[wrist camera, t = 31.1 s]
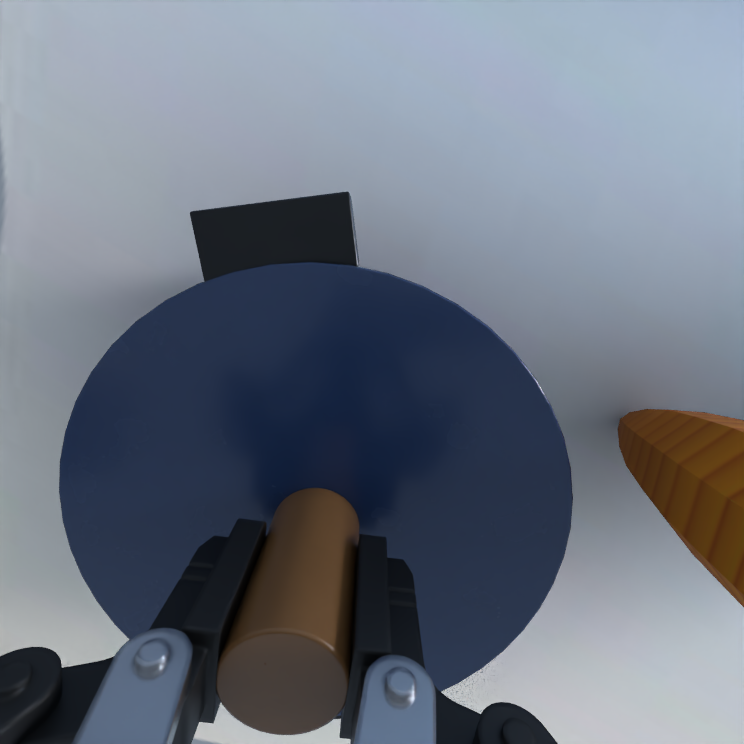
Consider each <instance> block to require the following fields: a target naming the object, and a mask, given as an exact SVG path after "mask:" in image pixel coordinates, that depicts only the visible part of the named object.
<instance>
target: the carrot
mask: <svg viewBox="0 0 744 744" xmlns="http://www.w3.org/2000/svg"><path fill="white" fill-rule="evenodd" d="M618 437H619V447H620V450H621V453H622V455H623V458H624V461H625V464H626V466H627V468H628V469H629V471H630V472H631V473H632V475H633V476H634V478H635V479H636V481H637V482H638V484H639V485H640V487H641V488H642V489H643V491H644V492H645V493H646V495H647V496H648V497H649V498H650V500H651V501H652V502H653V504H654V505H655V506H656V508H657V509H658V510H659V511H660V513H661V514H662V515H663V517H664V518H665V519H666V520H667V522H668V523H669V524H670V526H671V527H672V528H673V529H674V531H675V532H676V533H677V535H678V536H679V537H680V538H681V540H682V541H683V542H684V544H685V545H686V546H687V548H688V549H689V550H690V551H691V553H692V554H693V555H694V556H695V557H696V558H697V559H698V560H699V561H700V562H701V563H702V564H703V565H704V566H705V568H706V569H707V570H708V571H709V572H710V573H711V574H712V575H713V576H714V577H715V578H716V579H717V580H718V581H719V582H720V583H721V584H722V585H723V586H724V587H725V588H726V589H727V590H728V591H729V593H730V594H731V595H732V596H733V597H734V598H735V599H736V600H737V601H738V602H739V603H740V604H741V605H742V606H743V607H744V420H740V419H735V418H730V417H725V416H720V415H715V414H710V413H705V412H692V411H679V410H663V409H644V410H639V411H634V412H629V413H628V414H627V415H625V416H624V417H622V418H621V419H620V422H619V426H618Z"/></svg>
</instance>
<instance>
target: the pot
mask: <svg viewBox="0 0 744 744" xmlns="http://www.w3.org/2000/svg"><path fill="white" fill-rule="evenodd" d="M190 216H191V221H192V225H193V230H194V235H195V239H196V244H197V249H198V253H199V258H200V263H201V267H202V272H203V277H204V281H208V280H210V279H213V278H216V277H219V276H222V275H225V274H228V273H231V272H234V271H239V270H244V269H249V268H254V267H260V266H265V265H270V264H283V263H302V262H320V263H332V264H344V265H353V266H357V267H358V266H359V258H358V249H357V241H356V233H355V225H354V216H353V208H352V200H351V196H350V193H349V192H340V193H332V194H324V195H317V196H309V197H301V198H293V199H285V200H277V201H269V202H261V203H254V204H246V205H238V206H230V207H222V208H214V209H206V210H198V211H192V212H190ZM340 718H341V716H336V717H335V718H334V719H340Z"/></svg>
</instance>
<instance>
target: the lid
mask: <svg viewBox="0 0 744 744" xmlns="http://www.w3.org/2000/svg"><path fill="white" fill-rule="evenodd" d="M59 494H60V502H61V510H62V518H63V523H64V527H65V531H66V534H67V538H68V542H69V545H70V549H71V551H72V554H73V556H74V558H75V561H76V563H77V565H78V568H79V570H80V572H81V575H82V577H83V579H84V580H85V582H86V584H87V585H88V587H89V589H90V590H91V592H92V594H93V595H94V597H95V599H96V600H97V602H98V603H99V605H100V606H101V607H102V608H103V610H104V611H105V612H106V614H107V615H108V616H109V617H110V619H111V620H112V621H113V623H114V624H115V625H116V626H117V627H118V628H119V629H120V630H121V631H122V632H123V633H124V634H125V635H126V636H127V637H128V638H129V639H132V638H133V637H135V636H137V635H138V634H141V633H143V632H145V631H148V630H149V629H150V627H151V626H152V624H153V622H154V621H155V619H156V617H157V616H158V614H159V612H160V611H161V609H162V607H163V606H164V604H165V602H166V601H167V599H168V597H169V596H170V594H171V592H172V591H173V589H174V587H175V586H176V584H177V582H178V581H179V579H181V576H182V574H183V572H184V571H185V569H186V567H187V566H189V562H190V561H191V559H192V557H193V556H194V554H195V552H196V551H197V549H198V547H200V546H201V545H202V544H204V543H205V542H206V541H208V540H209V539H210V538H212V537H213V536H222V537H229V535H230V533H231V531H232V529H233V527H234V525H235V523H236V522H237V520H238V519H239V518H241V519H248V520H256V521H264V522H266V524H267V528H266V538H265V540H264V543H263V546H262V548H261V551H260V553H259V556H258V558H257V561H256V564H255V566H254V569H253V571H252V574H251V577H250V579H249V582H248V584H247V587H246V590H245V592H244V595H243V597H242V600H241V603H240V605H239V608H238V610H237V613H236V616H235V618H234V621H233V623H232V626H231V629H230V631H229V634H228V636H227V639H226V641H225V644H224V647H223V649H222V652H221V654H220V657H219V661H218V667H217V679H216V691H217V694H218V697H219V699H220V701H221V702H222V704H223V705H224V707H225V708H226V710H227V711H228V712H229V713H230V714H231V715H232V716H234V717H235V718H236V719H237V720H239V721H240V722H242V723H243V724H245V725H247V726H249V727H251V728H253V729H256V730H259V731H262V732H266V733H271V734H277V735H295V734H302V733H306V732H310V731H313V730H316V729H318V728H320V727H322V726H324V725H326V724H327V723H329V722H330V721H332V720H333V719H334V718H335V717H336V716H341V713H342V709H343V707H344V706H345V702H346V697H347V691H348V685H349V678H350V665H351V647H352V630H353V613H354V595H355V578H356V561H357V547H358V540H359V535H360V534H365V535H372V536H380V537H386V541H387V557H388V558H395V559H403V560H404V561H405V563H406V564H407V566H408V567H409V569H410V571H411V572H412V574H413V579H414V587H415V595H416V603H417V606H416V608H417V611H418V619H419V627H420V636H421V644H422V652H423V660H424V665H425V669H426V671H427V673H428V674H429V676H430V677H431V679H432V681H433V684H434V685H435V686H436V688H437V689H438V690H439V691H440V692H441V691H443V690H445V689H447V688H449V687H451V686H453V685H455V684H457V683H459V682H461V681H462V680H464V679H465V678H467V677H469V676H470V675H472V674H473V673H475V672H476V671H478V670H480V669H481V668H483V667H484V666H485V665H486V664H488V663H489V662H490V661H491V660H493V659H494V658H495V657H496V656H497V655H499V654H500V653H501V652H502V651H504V650H505V649H506V648H507V647H508V645H509V644H510V643H511V642H512V641H513V640H514V639H515V638H516V637H517V636H518V635H519V634H520V633H521V632H522V631H523V630H524V629H525V627H526V626H527V625H528V623H529V622H530V621H531V619H532V618H533V617H534V615H535V614H536V613H537V611H538V610H539V609H540V607H541V605H542V603H543V602H544V600H545V598H546V596H547V594H548V593H549V591H550V589H551V587H552V585H553V584H554V581H555V579H556V576H557V573H558V571H559V568H560V566H561V563H562V560H563V558H564V554H565V550H566V546H567V541H568V537H569V533H570V528H571V516H572V503H573V494H572V480H571V467H570V463H569V458H568V454H567V449H566V445H565V441H564V437H563V434H562V432H561V429H560V426H559V424H558V421H557V419H556V416H555V414H554V411H553V408H552V406H551V405H550V403H549V401H548V399H547V398H546V396H545V394H544V392H543V391H542V389H541V387H540V385H539V384H538V382H537V380H536V378H535V377H534V376H533V374H532V373H531V372H530V371H529V369H528V368H527V367H526V366H525V364H524V363H523V362H522V360H521V359H520V358H519V357H518V355H517V354H516V353H515V352H514V350H513V349H511V348H510V347H509V346H508V345H507V344H506V343H505V342H504V341H503V340H502V339H501V338H500V337H499V336H498V335H497V334H496V333H495V332H494V331H493V330H492V329H491V328H489V327H488V326H487V325H486V324H484V323H483V322H482V321H480V320H479V319H477V318H476V317H475V316H473V315H472V314H470V313H469V312H468V311H466V310H465V309H463V308H462V307H461V306H459V305H458V304H456V303H454V302H452V301H450V300H449V299H447V298H445V297H443V296H441V295H439V294H437V293H435V292H433V291H431V290H430V289H428V288H426V287H424V286H422V285H419V284H416V283H413V282H411V281H408V280H405V279H402V278H400V277H397V276H394V275H391V274H389V273H385V272H380V271H376V270H371V269H367V268H362V267H357V266H353V265H344V264H332V263H320V262H302V263H283V264H270V265H265V266H260V267H254V268H249V269H244V270H239V271H234V272H231V273H228V274H225V275H222V276H219V277H216V278H213V279H210V280H208V281H205V282H202V283H199V284H197V285H195V286H193V287H191V288H189V289H187V290H185V291H183V292H181V293H179V294H177V295H175V296H173V297H171V298H169V299H167V300H165V301H164V302H163V303H161V304H160V305H158V306H157V307H156V308H154V309H153V310H151V311H150V312H149V313H147V314H146V315H144V316H143V317H142V318H140V319H139V320H137V321H136V322H135V323H134V324H133V325H132V326H131V327H130V328H129V329H128V330H127V331H126V332H125V333H124V334H123V335H122V336H121V337H120V338H119V339H117V340H116V341H115V342H114V343H113V344H112V345H111V347H110V348H109V349H108V351H107V352H106V353H105V355H104V356H103V357H102V359H101V360H100V361H99V363H98V364H97V365H96V367H95V368H94V369H93V371H92V372H91V374H90V375H89V377H88V379H87V381H86V383H85V385H84V387H83V389H82V390H81V392H80V394H79V396H78V398H77V400H76V402H75V405H74V408H73V411H72V413H71V416H70V419H69V422H68V425H67V428H66V431H65V436H64V442H63V447H62V453H61V458H60V479H59Z"/></svg>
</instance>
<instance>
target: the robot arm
mask: <svg viewBox="0 0 744 744" xmlns="http://www.w3.org/2000/svg"><path fill="white" fill-rule="evenodd" d="M266 528H267V524H266V522H264V521H256V520H248V519H241V518H239V519H238V520H237V522H236V523H235V525H234V527H233V529H232V531H231V533H230V535H229V537H222V536H213V537H212V538H210V539H209V540H208V541H206V542H205V543H204V544H202V545H201V546H200V547H198V549H197V551H196V552H195V554H194V556H193V557H192V559H191V561H190V562H189V566H187V567H186V569H185V571H184V572H183V574H182V576H181V579H179V581H178V582H177V584H176V586H175V587H174V589H173V591H172V592H171V594H170V596H169V597H168V599H167V601H166V602H165V604H164V606H163V607H162V609H161V611H160V612H159V614H158V616H157V617H156V619H155V621H154V622H153V624H152V626H151V627H150V629H149V630H148V631H145V632H143V633H141V634H138V635H137V636H135V637H133V638H132V639H130V640H129V641H128V642H126V643H125V644H124V645H123V646H122V647H121V648H120V649H119V651H118V652H117V653H116V655H115V656H114V657H112V658H109V659H106V660H102V661H98V662H93V663H87V664H81V665H76V666H70V667H64V668H61V660H60V658H59V656H58V655H57V654H56V652H54V651H52V650H51V649H48V648H43V647H29V648H23V649H19V650H15V651H12V652H10V653H7V654H5V655H2V656H0V744H191V742H192V740H193V737H194V734H195V732H196V729H197V726H198V724H199V722H206V723H214V720H215V717H216V714H217V711H218V708H219V705H220V702H221V701H220V699H219V697H218V694H217V691H216V679H217V667H218V661H219V657H220V654H221V652H222V649H223V647H224V644H225V641H226V639H227V636H228V634H229V631H230V629H231V626H232V623H233V621H234V618H235V616H236V613H237V610H238V608H239V605H240V603H241V600H242V597H243V595H244V592H245V590H246V587H247V584H248V582H249V579H250V577H251V574H252V571H253V569H254V566H255V564H256V561H257V558H258V556H259V553H260V551H261V548H262V546H263V543H264V540H265V538H266ZM416 606H417V603H416V595H415V587H414V579H413V574H412V572H411V571H410V569H409V567H408V566H407V564H406V563H405V561H404V560H403V559H395V558H388V557H387V541H386V537H380V536H372V535H365V534H360V535H359V540H358V547H357V561H356V578H355V595H354V613H353V630H352V647H351V665H350V678H349V685H348V691H347V697H346V702H345V706H344V707H343V709H342V713H341V728H340V738H347V739H351V744H557V742H556V741H555V740H554V738H553V737H552V736H551V734H550V733H549V732H548V731H547V729H546V728H545V727H544V726H543V724H542V723H541V722H540V721H539V720H538V719H537V718H536V717H535V716H534V715H532V714H531V713H530V712H528V711H527V710H525V709H523V708H522V707H519V706H517V705H515V704H511V703H505V702H499V703H494V704H491V705H489V706H488V707H486V708H485V709H484V710H483V712H482V714H479V713H477V712H475V711H473V710H470V709H468V708H466V707H464V706H462V705H460V704H457V703H456V702H454V701H452V700H450V699H449V698H447V697H446V696H445V695H444V694H442V693H441V692H440V691H439V690H438V689H437V688H436V686H435V685H434V684H433V681H432V679H431V677H430V676H429V674H428V673H427V671H426V669H425V665H424V660H423V652H422V644H421V636H420V627H419V619H418V611H417V608H416Z"/></svg>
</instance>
